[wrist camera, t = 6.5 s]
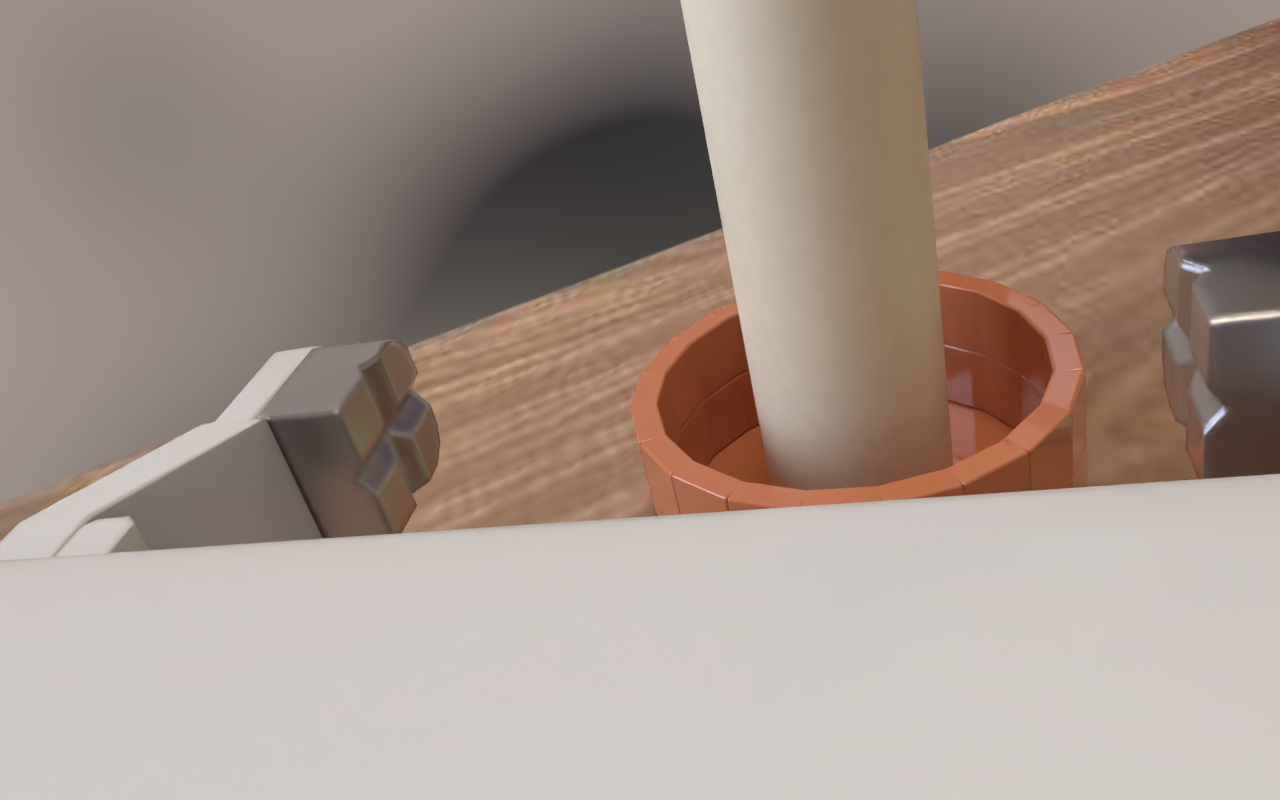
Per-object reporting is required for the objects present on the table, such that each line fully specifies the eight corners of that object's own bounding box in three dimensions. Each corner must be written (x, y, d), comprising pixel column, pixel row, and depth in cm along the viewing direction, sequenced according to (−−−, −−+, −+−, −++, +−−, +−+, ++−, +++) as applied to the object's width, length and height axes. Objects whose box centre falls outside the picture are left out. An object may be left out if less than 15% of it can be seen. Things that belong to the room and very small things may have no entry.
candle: (767, 556, 27) (641, -87, 20) (780, 447, 31) (679, -127, 24) (961, 547, 26) (906, -141, 19) (950, 435, 30) (901, -174, 22)
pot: (630, 655, 26) (591, 521, 24) (692, 405, 35) (667, 291, 33) (1119, 643, 23) (1122, 491, 21) (1052, 375, 32) (1050, 249, 30)
